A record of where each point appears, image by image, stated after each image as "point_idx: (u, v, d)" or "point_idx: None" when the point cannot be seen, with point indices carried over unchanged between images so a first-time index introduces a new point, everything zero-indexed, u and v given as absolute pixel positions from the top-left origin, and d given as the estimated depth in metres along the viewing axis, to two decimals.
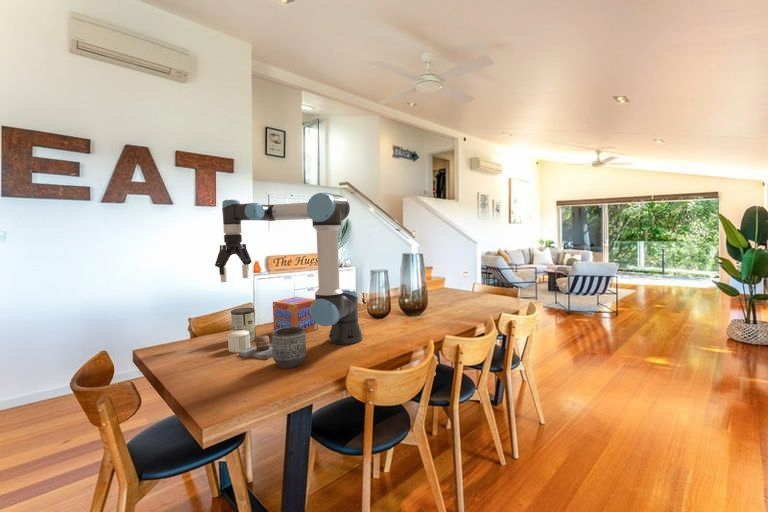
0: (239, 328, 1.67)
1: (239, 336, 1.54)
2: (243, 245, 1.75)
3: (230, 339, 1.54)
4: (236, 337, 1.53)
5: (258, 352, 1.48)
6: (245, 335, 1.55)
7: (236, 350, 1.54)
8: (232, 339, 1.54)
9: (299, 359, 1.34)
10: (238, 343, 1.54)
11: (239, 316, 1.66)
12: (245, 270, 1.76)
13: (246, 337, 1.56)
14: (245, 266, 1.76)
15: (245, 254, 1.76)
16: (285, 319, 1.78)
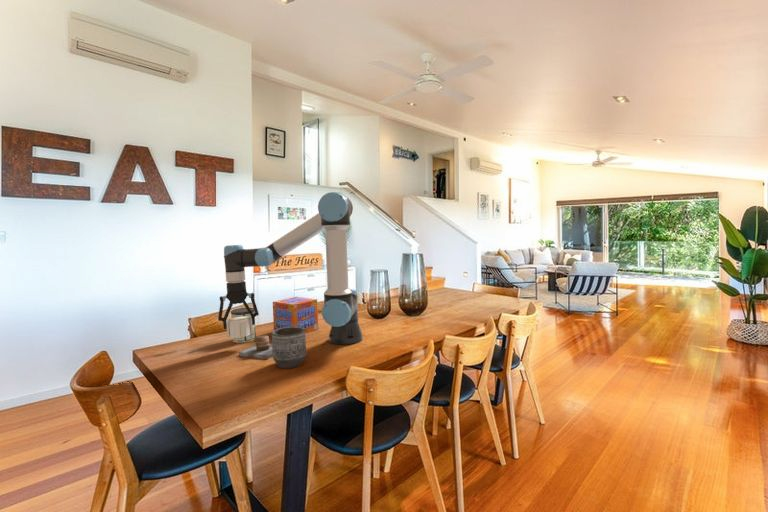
0: None
1: (239, 321, 1.53)
2: (251, 294, 1.58)
3: (230, 325, 1.53)
4: (236, 322, 1.53)
5: (258, 352, 1.48)
6: (245, 320, 1.55)
7: (237, 335, 1.53)
8: (232, 324, 1.53)
9: (299, 359, 1.34)
10: (238, 328, 1.53)
11: (239, 316, 1.66)
12: (250, 324, 1.58)
13: (246, 322, 1.55)
14: None
15: None
16: (285, 319, 1.78)
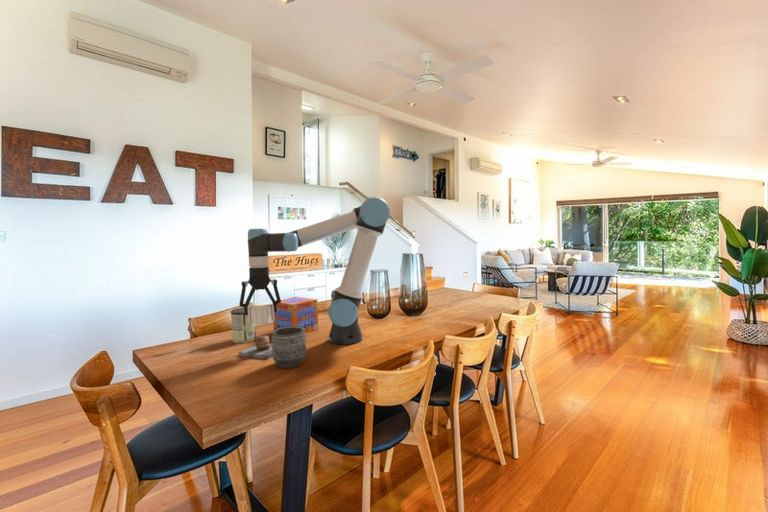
0: (239, 328, 1.67)
1: (261, 308, 1.47)
2: (274, 281, 1.52)
3: (252, 311, 1.48)
4: (258, 309, 1.47)
5: (258, 352, 1.48)
6: (267, 307, 1.49)
7: (258, 322, 1.47)
8: (254, 311, 1.47)
9: (299, 359, 1.34)
10: (260, 315, 1.47)
11: (239, 316, 1.66)
12: None
13: (268, 309, 1.50)
14: None
15: (275, 292, 1.53)
16: (285, 319, 1.78)
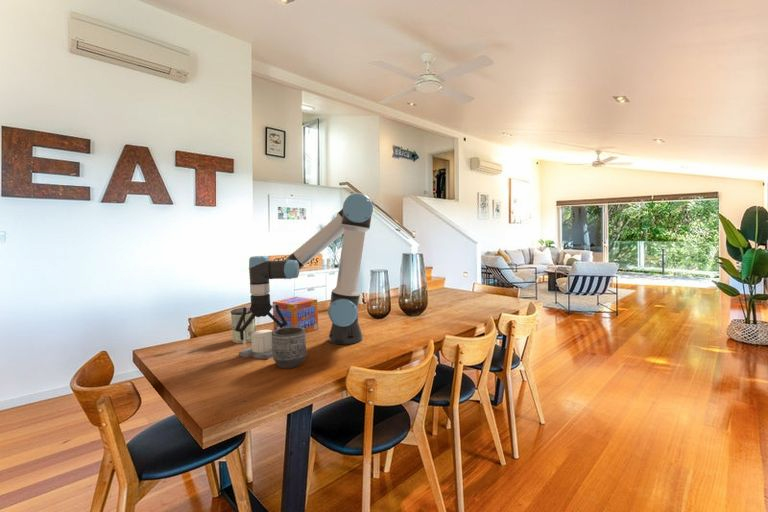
0: None
1: (263, 336, 1.48)
2: (275, 306, 1.53)
3: (254, 339, 1.48)
4: (260, 337, 1.48)
5: (258, 352, 1.48)
6: (269, 334, 1.50)
7: (260, 350, 1.48)
8: (256, 339, 1.48)
9: (299, 359, 1.34)
10: (262, 343, 1.48)
11: (239, 316, 1.66)
12: None
13: (270, 337, 1.50)
14: None
15: (279, 316, 1.54)
16: (285, 319, 1.78)
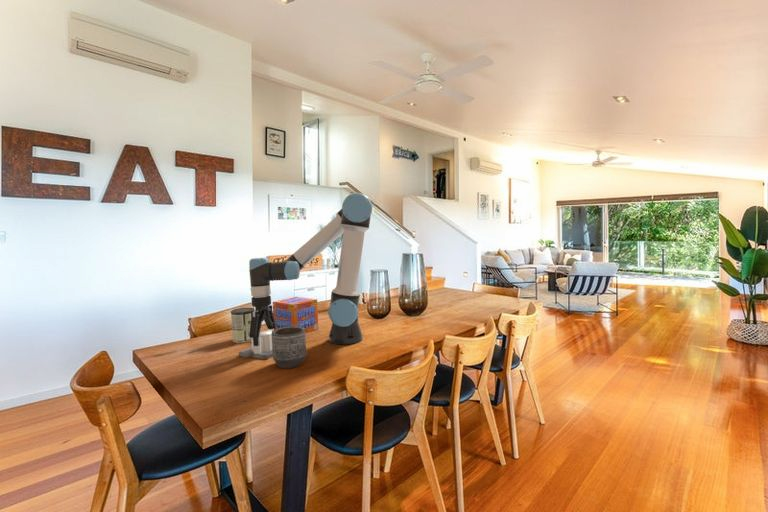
0: (239, 328, 1.67)
1: (263, 336, 1.48)
2: (270, 307, 1.56)
3: None
4: (260, 337, 1.48)
5: None
6: (269, 334, 1.50)
7: None
8: None
9: (299, 359, 1.34)
10: (262, 343, 1.48)
11: (239, 316, 1.66)
12: None
13: (270, 337, 1.50)
14: None
15: (270, 317, 1.58)
16: (285, 319, 1.78)
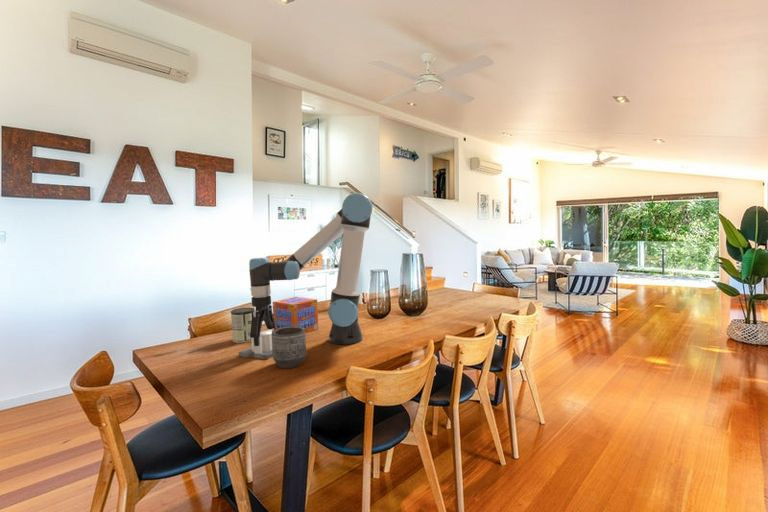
0: (239, 328, 1.67)
1: (263, 336, 1.48)
2: (269, 307, 1.57)
3: None
4: None
5: None
6: (269, 334, 1.50)
7: None
8: None
9: (299, 359, 1.34)
10: (262, 343, 1.48)
11: (239, 316, 1.66)
12: None
13: (270, 337, 1.50)
14: None
15: (270, 317, 1.58)
16: (285, 319, 1.78)
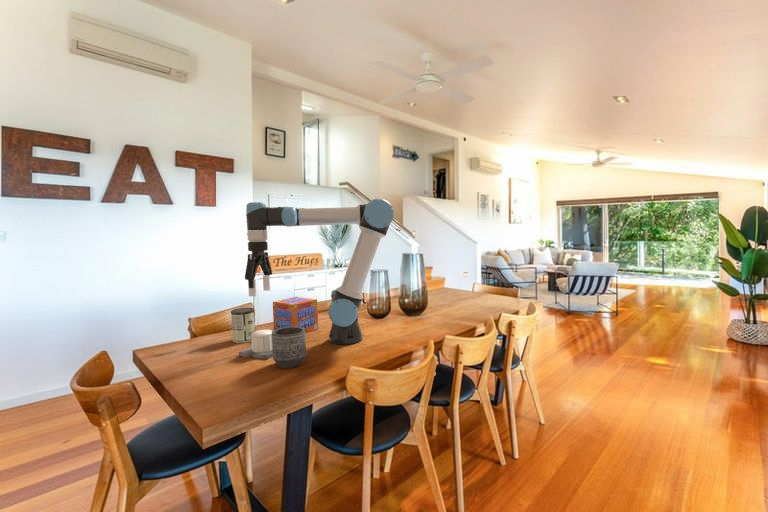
0: (239, 328, 1.67)
1: (263, 336, 1.48)
2: (265, 253, 1.55)
3: (254, 339, 1.48)
4: (260, 337, 1.48)
5: (258, 352, 1.48)
6: (269, 334, 1.50)
7: (260, 350, 1.48)
8: (256, 339, 1.48)
9: (299, 359, 1.34)
10: (262, 343, 1.48)
11: (239, 316, 1.66)
12: (267, 281, 1.57)
13: (270, 337, 1.50)
14: (267, 277, 1.57)
15: (266, 263, 1.57)
16: (285, 319, 1.78)
